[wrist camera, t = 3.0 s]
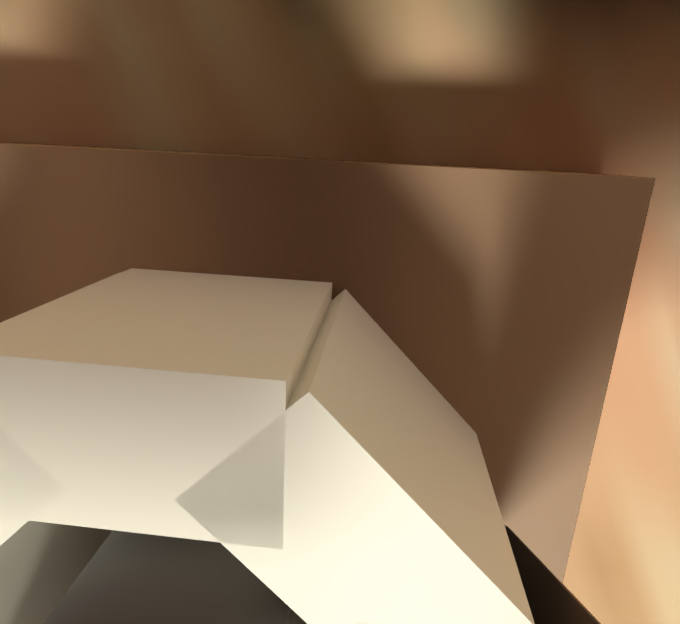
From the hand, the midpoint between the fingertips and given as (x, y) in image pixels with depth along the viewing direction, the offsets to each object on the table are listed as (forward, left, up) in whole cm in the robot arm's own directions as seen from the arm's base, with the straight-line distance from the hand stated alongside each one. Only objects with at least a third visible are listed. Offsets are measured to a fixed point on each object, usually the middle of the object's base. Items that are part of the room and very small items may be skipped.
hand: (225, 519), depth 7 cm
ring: (0, 0, 0) cm, 0 cm away
